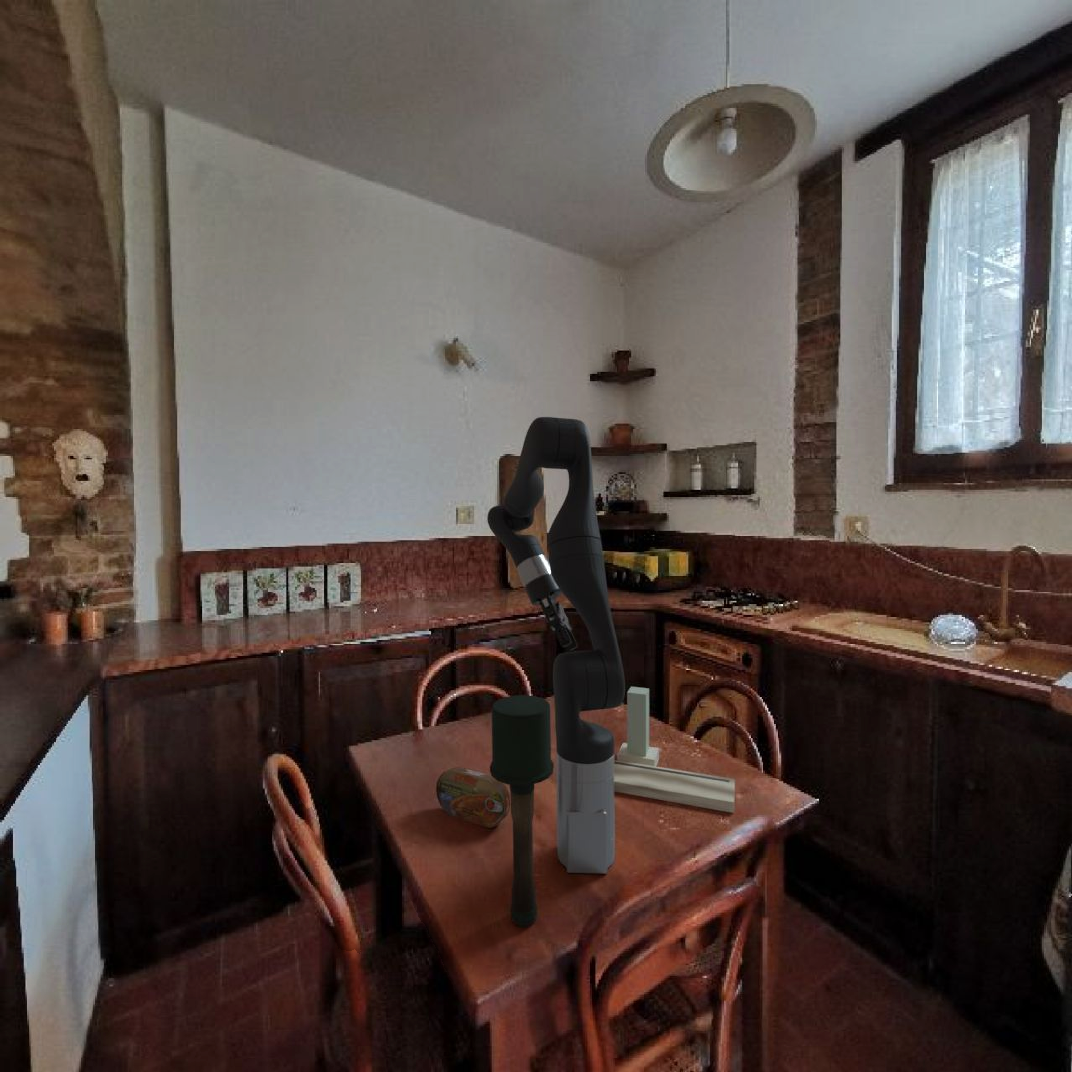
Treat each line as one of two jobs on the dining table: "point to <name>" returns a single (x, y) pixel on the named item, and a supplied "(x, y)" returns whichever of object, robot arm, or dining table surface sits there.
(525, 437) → the robot arm
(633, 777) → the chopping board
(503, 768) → the stick grenade
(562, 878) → the dining table surface
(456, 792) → the tin
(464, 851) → the dining table surface
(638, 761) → the grey pillar on base
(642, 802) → the dining table surface
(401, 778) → the dining table surface
